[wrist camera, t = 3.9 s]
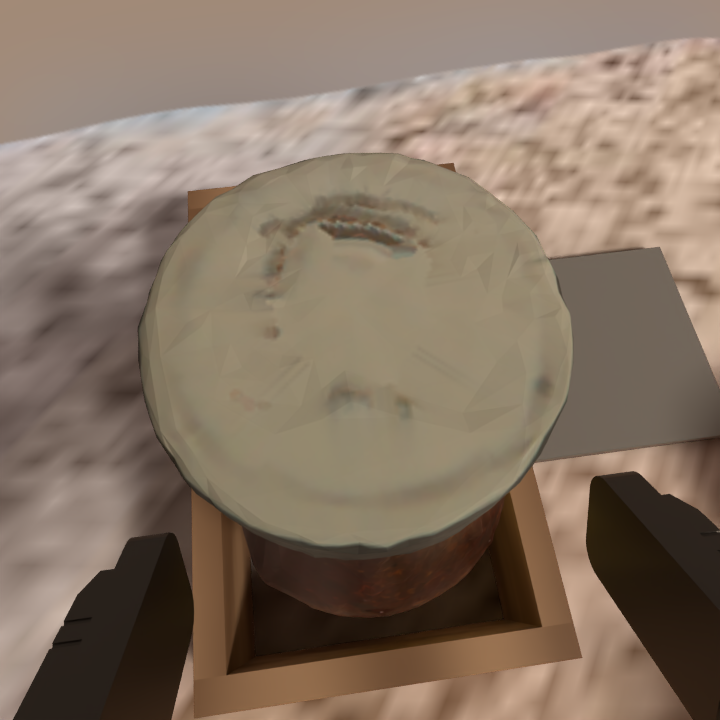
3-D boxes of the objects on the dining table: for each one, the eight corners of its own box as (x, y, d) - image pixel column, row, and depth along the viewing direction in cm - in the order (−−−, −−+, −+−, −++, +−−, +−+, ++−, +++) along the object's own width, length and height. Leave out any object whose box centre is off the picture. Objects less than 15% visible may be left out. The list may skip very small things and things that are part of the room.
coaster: (516, 465, 24) (519, 462, 24) (468, 275, 28) (470, 269, 27) (729, 436, 25) (737, 432, 24) (654, 253, 29) (659, 246, 28)
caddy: (231, 689, 21) (193, 718, 16) (215, 255, 29) (187, 191, 24) (534, 643, 21) (582, 657, 17) (438, 230, 29) (453, 162, 25)
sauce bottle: (360, 420, 25) (360, -41, 7) (469, 511, 23) (859, 229, 5) (260, 531, 23) (-125, 312, 5) (371, 639, 21) (435, 927, 3)
